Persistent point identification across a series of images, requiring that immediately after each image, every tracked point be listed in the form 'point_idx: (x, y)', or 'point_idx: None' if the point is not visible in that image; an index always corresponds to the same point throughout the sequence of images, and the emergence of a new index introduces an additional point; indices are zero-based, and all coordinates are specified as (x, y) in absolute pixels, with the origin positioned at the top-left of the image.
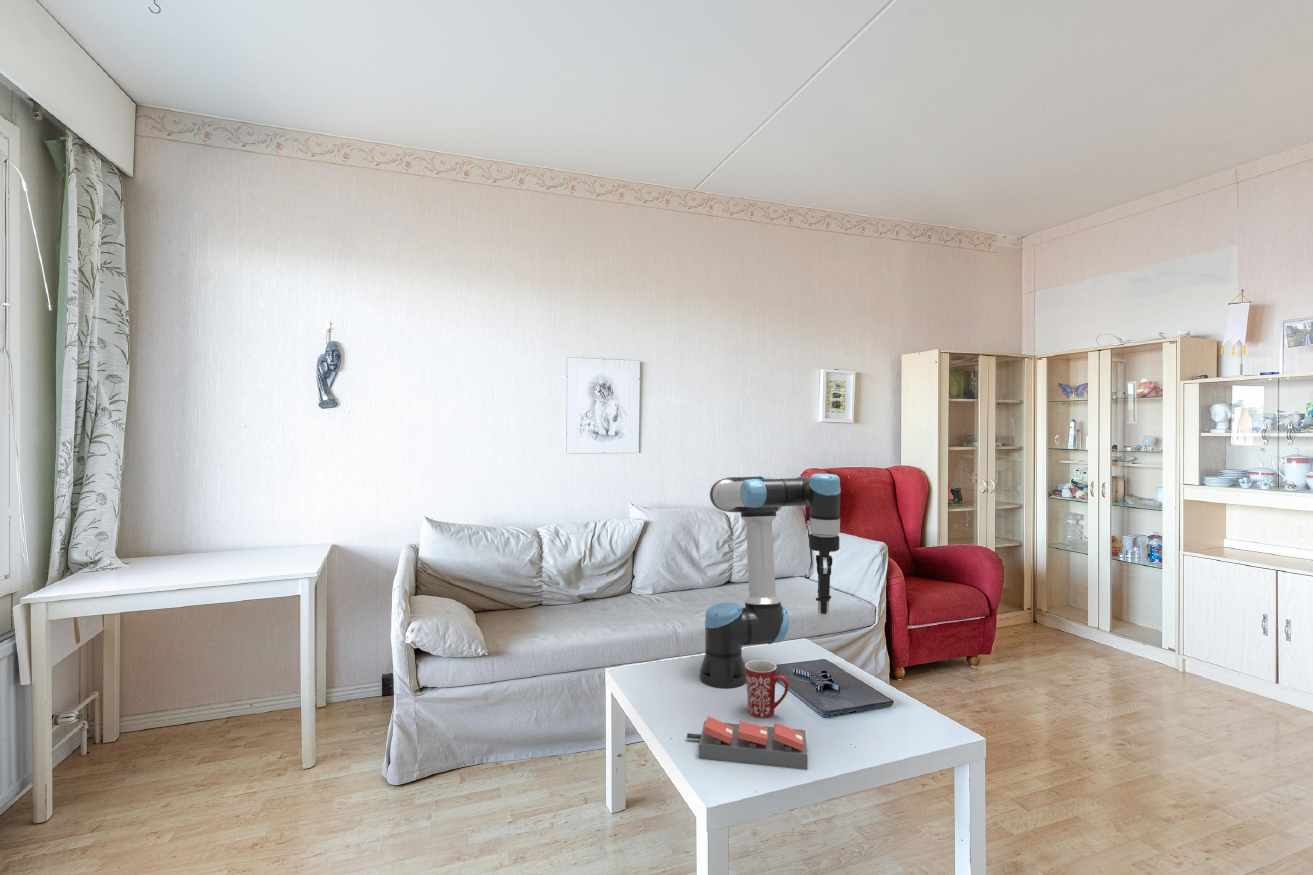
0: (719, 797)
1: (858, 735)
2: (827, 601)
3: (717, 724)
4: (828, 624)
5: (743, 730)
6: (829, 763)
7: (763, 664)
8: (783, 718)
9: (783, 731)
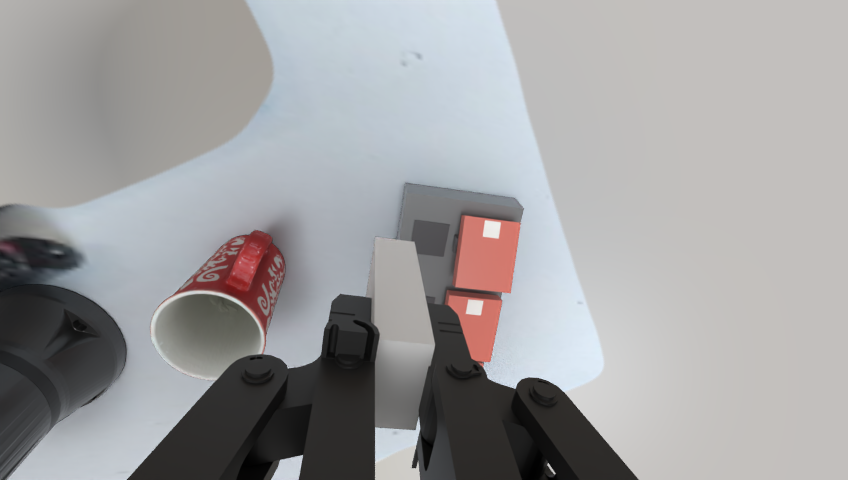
0: (589, 357)
1: (354, 24)
2: (432, 354)
3: None
4: (415, 247)
5: (481, 351)
6: (494, 143)
7: (164, 318)
8: (279, 214)
9: (488, 269)
